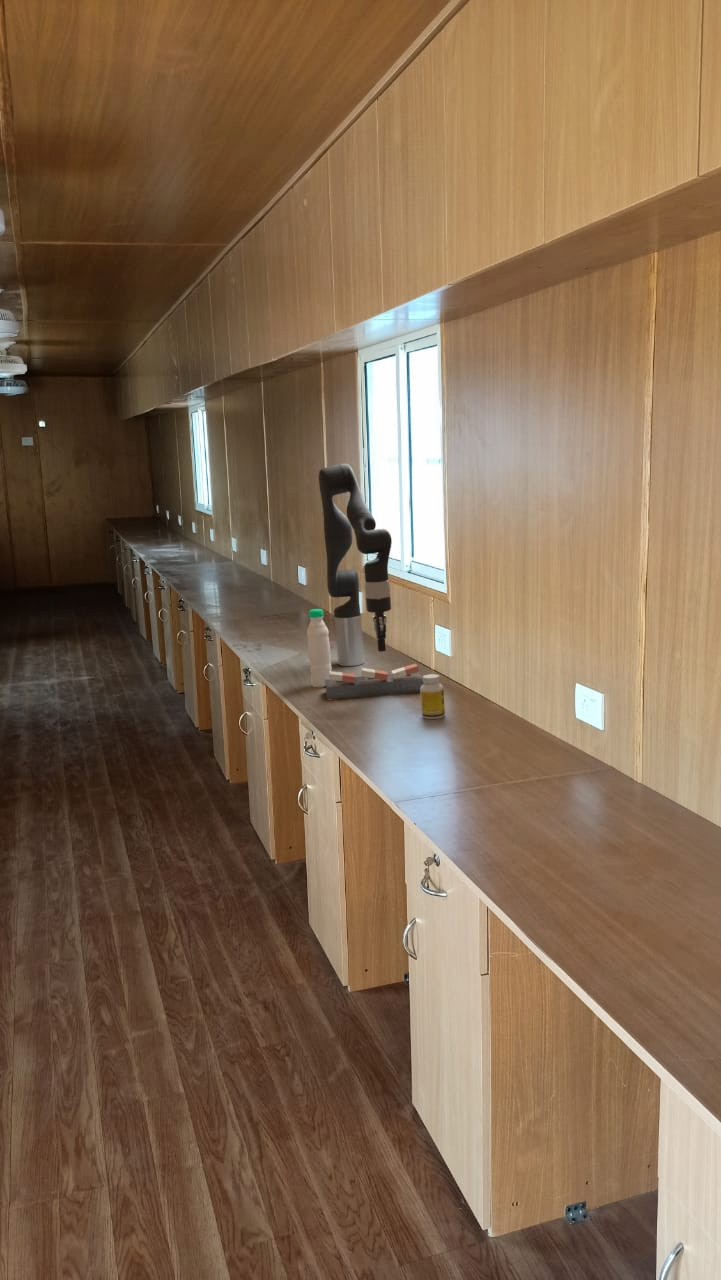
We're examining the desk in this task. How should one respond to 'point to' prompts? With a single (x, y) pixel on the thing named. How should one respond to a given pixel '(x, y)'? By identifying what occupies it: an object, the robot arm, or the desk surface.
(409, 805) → the desk surface
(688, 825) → the desk surface
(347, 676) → the rocker
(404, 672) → the rocker
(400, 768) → the desk surface
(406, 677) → the power strip
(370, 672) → the block
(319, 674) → the water bottle
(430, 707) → the pill bottle
